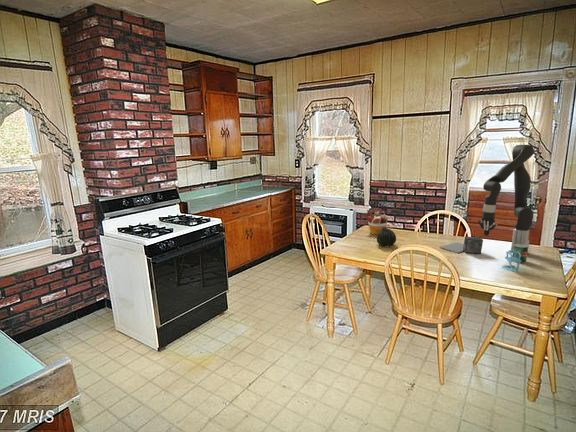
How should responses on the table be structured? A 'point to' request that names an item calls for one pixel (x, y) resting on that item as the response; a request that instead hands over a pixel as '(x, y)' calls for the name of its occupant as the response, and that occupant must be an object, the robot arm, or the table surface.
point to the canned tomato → (521, 252)
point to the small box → (473, 245)
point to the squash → (386, 237)
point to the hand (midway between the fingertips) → (486, 235)
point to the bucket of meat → (376, 222)
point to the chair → (512, 260)
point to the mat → (454, 247)
